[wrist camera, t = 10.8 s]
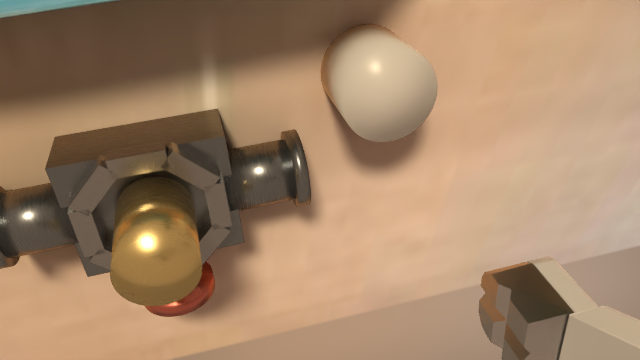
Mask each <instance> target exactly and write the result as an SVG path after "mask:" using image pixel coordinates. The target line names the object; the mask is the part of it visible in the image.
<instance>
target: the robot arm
mask: <svg viewBox="0 0 640 360" xmlns="http://www.w3.org/2000/svg"><path fill="white" fill-rule="evenodd" d="M481 287H482V288H483V289H484V291H485V294H484V295H483V297H482V298H481V299H480V301H479V315H480V320H481V324H482V327H483V329H484V331H485V333H486V335H487V337H488V338H489V340H490V341H491V343H493V344H495V345H497V346H499V347H501V348H502V349H503V351H502V360H640V320H638V319H635V318H633V317H631V316H629V315H626V314H624V313H622V312H619V311H617V310H615V309H612V308H610V307H608V306H601V307H598V306H597V305H596V304H595V302H594V301H593V300H592V299H591V298H590V297H589V296H588V295H587V294H586V293H585V292H584V291H583V290H582V288H581V287H580V286H579V285H578V284H577V283H576V282H575V281H574V280H573V279H572V278H571V277H570V275H568V273H567V272H566V271H565V270H564V269H563V268H562V267H561V266H560V265H559V264H558V263H557V262H556V260H555V259H553V258H551V257H549V256H548V257H544V258H540V259H536V260H532V261H528V262H523V263H519V264H515V265H511V266H507V267H503V268H499V269H495V270H492V271H488V272H485V273H484V274H483V276H482V280H481Z"/></svg>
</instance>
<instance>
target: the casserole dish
mask: <svg viewBox="0 0 640 360" xmlns="http://www.w3.org/2000/svg"><path fill="white" fill-rule="evenodd" d="M112 1H119V0H0V18H6V17H13V16H20V15H26V14H32V13H38V12H45V11H52V10H59V9H66V8H72V7H79V6H86V5H92V4H99V3H105V2H112Z"/></svg>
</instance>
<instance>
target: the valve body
mask: <svg viewBox="0 0 640 360" xmlns="http://www.w3.org/2000/svg"><path fill="white" fill-rule="evenodd" d="M45 170H46V172H47V175H48V177H49V180H50V182H51V183H48V184H42V185H37V186H32V187H26V188H21V189H16V190H10V191H5V190H4V189H3V188H2V187H1V186H0V269H2V268H7V267H11V266H14V265H16V264H17V262H18V260H19V258H20V256H23V255H28V254H33V253H38V252H42V251H47V250H52V249H57V248H62V247H66V246H71V245H75V246H76V248H77V251H78V253H79V256H80V259H81V261H82V264H83V266H84V269H85V271H86V274H87V276H88V277H90V276H94V275H99V274H103V273H108V272H110V269H111V257H112V244H113V232H114V220H115V208H116V202H117V199H118V197H119V195H120V194H121V192H122V191H123V190H124V189H125V188H126V187H127V186H128V185H130V184H131V183H133V182H135V181H137V180H140V179H143V178H148V177H164V178H169V179H172V180H174V181H176V182H178V183H180V184H181V185H183V186H184V187H185V188H186V189H187V190H188V191H189V193H190V194H191V196H192V199H193V202H194V209H195V216H196V224H197V231H198V239H199V246H200V254H201V261H202V275H201V278H200V281H199V283H198V285H197V286H196V287H195V289H194V290H193V291H192V292H191V293H189V294H188V295H187V296H185V297H184V298H182V299H180V300H178V301H176V302H174V303H170V304H167V305H162V306H145V307H146V308H147V309H148V310H149V311H150V312H151V313H153V314H156V315H159V316H165V317H172V316H179V315H184V314H187V313H189V312H192V311H194V310H196V309H197V308H199V307H201V306H202V305H203V304H204V303H205V302H207V301H208V299H209V298H210V297H211V295H212V294H213V292H214V288H215V280H214V276H213V272H212V268H211V266H210V265H209V263H207V262H206V260H207V259H208V258H209V257H210V255H211V254H212V253H213V252H214V251H215V249H217V248H222V247H226V246H231V245H235V244H240V243H244V237H243V232H242V226H241V221H240V216H239V210H244V209H249V208H254V207H258V206H263V205H268V204H273V203H278V202H282V201H287V200H292V199H293V201H294V203H295V205H296V206H300V205H305V204H309V203H310V200H311V188H310V179H309V172H308V167H307V162H306V158H305V153H304V150H303V146H302V143H301V140H300V137H299V135H298V133H297V131H296V130H289V131H283V132H281V140H277V141H272V142H266V143H261V144H256V145H250V146H245V147H240V148H234V149H229V150H227V145H226V139H225V134H224V131H223V127H222V123H221V119H220V116H219V112H218V109H214V110H208V111H202V112H196V113H191V114H185V115H179V116H173V117H167V118H162V119H156V120H150V121H144V122H139V123H133V124H127V125H121V126H116V127H110V128H104V129H98V130H93V131H87V132H81V133H75V134H69V135H64V136H58V137H55V139H54V142H53V145H52V148H51V152H50V155H49V158H48V161H47V165H46V168H45Z"/></svg>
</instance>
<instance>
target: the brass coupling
mask: <svg viewBox="0 0 640 360" xmlns="http://www.w3.org/2000/svg"><path fill="white" fill-rule="evenodd" d="M201 275H202V261H201V254H200V246H199V239H198V231H197V224H196V216H195V209H194V202H193V199H192V196H191V194H190V193H189V191H188V190H187V189H186V188H185V187H184V186H183V185H181V184H180V183H178V182H176V181H174V180H172V179H169V178H164V177H148V178H143V179H140V180H137V181H135V182H133V183H131V184H130V185H128V186H127V187H126V188H125V189H124V190H123V191H122V192H121V194H120V195H119V197H118V199H117V202H116V208H115V220H114V232H113V244H112V257H111V269H110V278H111V282H112V285H113V287H114V288H115V290H116V291H117V292H118V293H119V294H120V295H121V296H122V297H123V298H125V299H127V300H128V301H131V302H133V303H136V304H139V305H144V306H162V305H167V304H170V303H174V302H176V301H178V300H180V299H182V298H184V297H185V296H187V295H188V294H189V293H191V292H192V291H193V290H194V289H195V287H196V286H197V285H198V283H199V281H200V278H201Z"/></svg>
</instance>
